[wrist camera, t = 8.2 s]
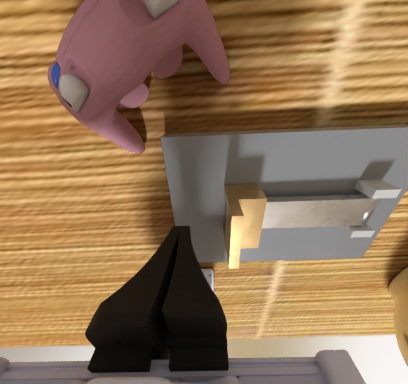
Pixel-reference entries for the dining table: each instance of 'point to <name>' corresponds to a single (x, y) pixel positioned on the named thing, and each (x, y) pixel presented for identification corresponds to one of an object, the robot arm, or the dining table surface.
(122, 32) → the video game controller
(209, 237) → the base board
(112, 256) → the dining table surface
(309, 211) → the silver flat bar
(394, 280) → the pitcher
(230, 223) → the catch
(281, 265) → the dining table surface
